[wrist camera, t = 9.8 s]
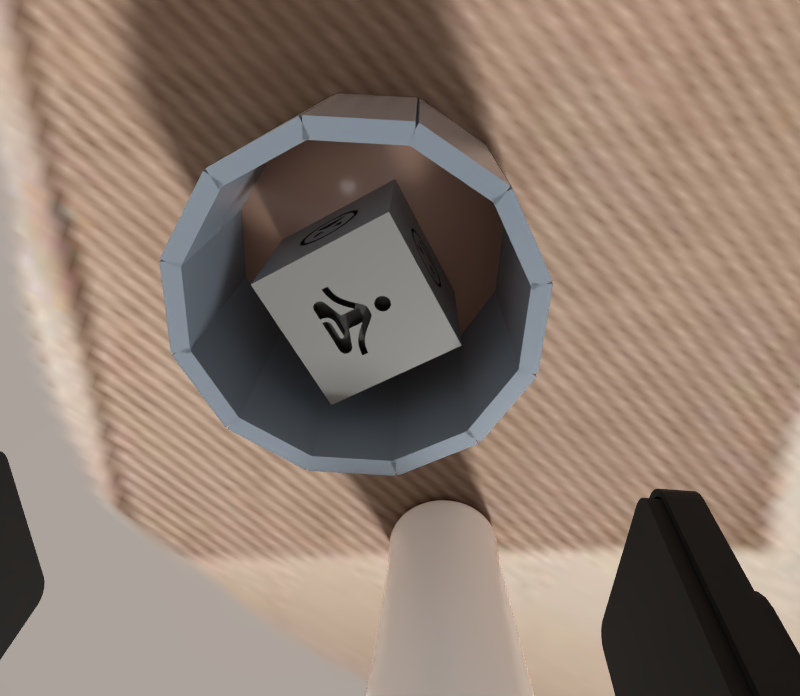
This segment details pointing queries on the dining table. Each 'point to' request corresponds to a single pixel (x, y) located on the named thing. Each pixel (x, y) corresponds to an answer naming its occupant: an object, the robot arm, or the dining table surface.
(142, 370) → the dining table surface
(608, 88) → the dining table surface
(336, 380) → the dice cube
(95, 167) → the dining table surface
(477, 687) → the drinking glass
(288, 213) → the cup
